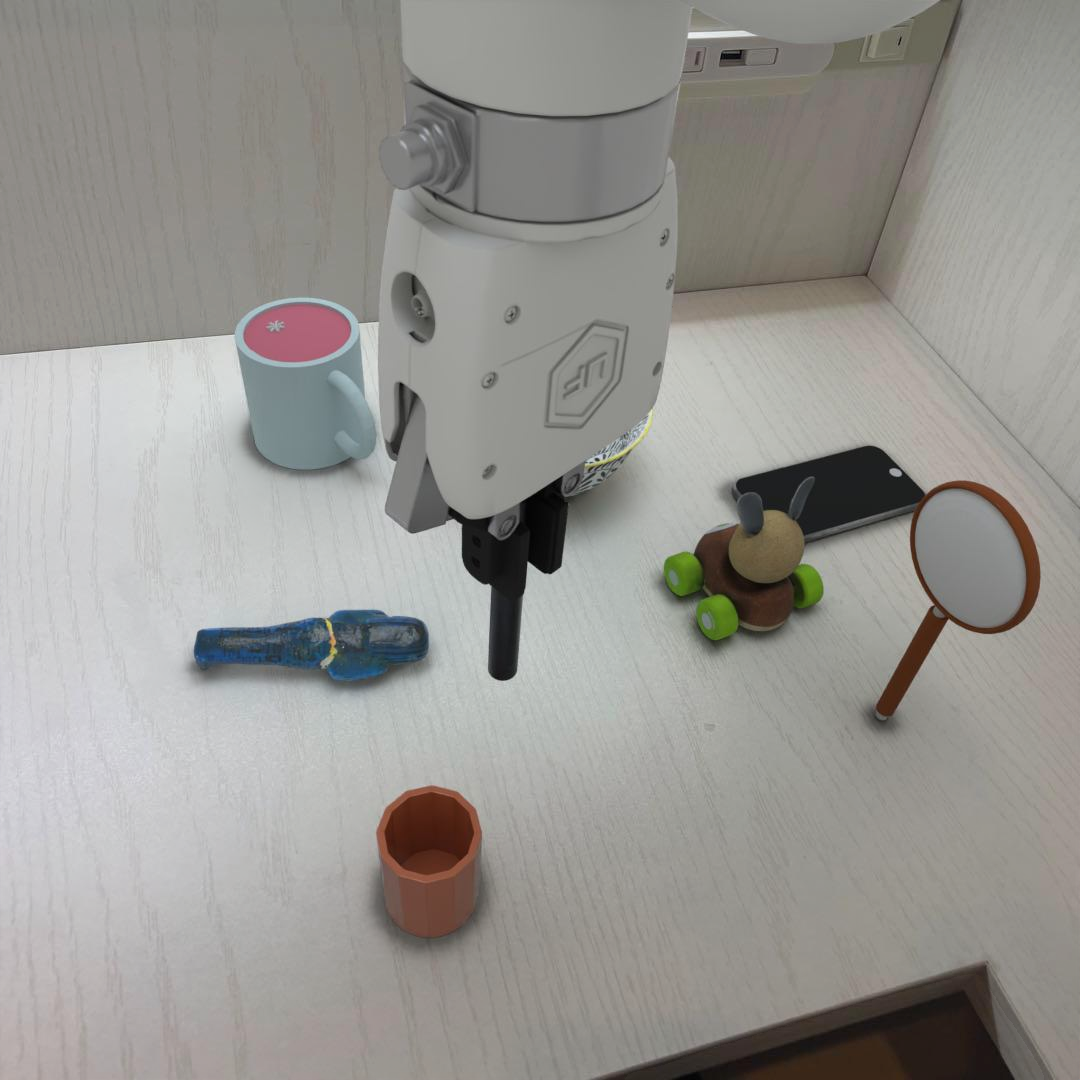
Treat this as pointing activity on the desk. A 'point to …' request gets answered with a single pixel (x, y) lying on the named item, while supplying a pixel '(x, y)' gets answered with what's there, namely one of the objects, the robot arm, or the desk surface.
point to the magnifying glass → (966, 571)
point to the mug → (305, 383)
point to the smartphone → (837, 490)
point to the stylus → (505, 625)
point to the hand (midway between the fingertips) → (511, 564)
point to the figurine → (320, 644)
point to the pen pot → (430, 860)
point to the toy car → (749, 569)
